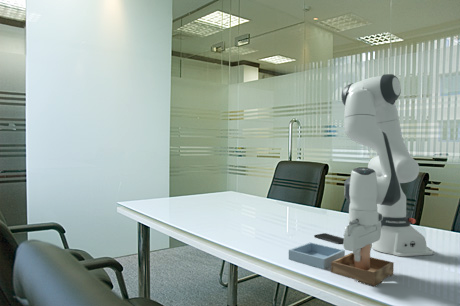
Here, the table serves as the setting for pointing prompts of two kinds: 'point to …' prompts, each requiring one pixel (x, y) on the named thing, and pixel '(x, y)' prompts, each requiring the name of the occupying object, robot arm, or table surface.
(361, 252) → the orange-tan rounded cylinder
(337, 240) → the phone
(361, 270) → the tray
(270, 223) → the table surface
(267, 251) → the table surface
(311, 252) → the bin
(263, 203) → the table surface
